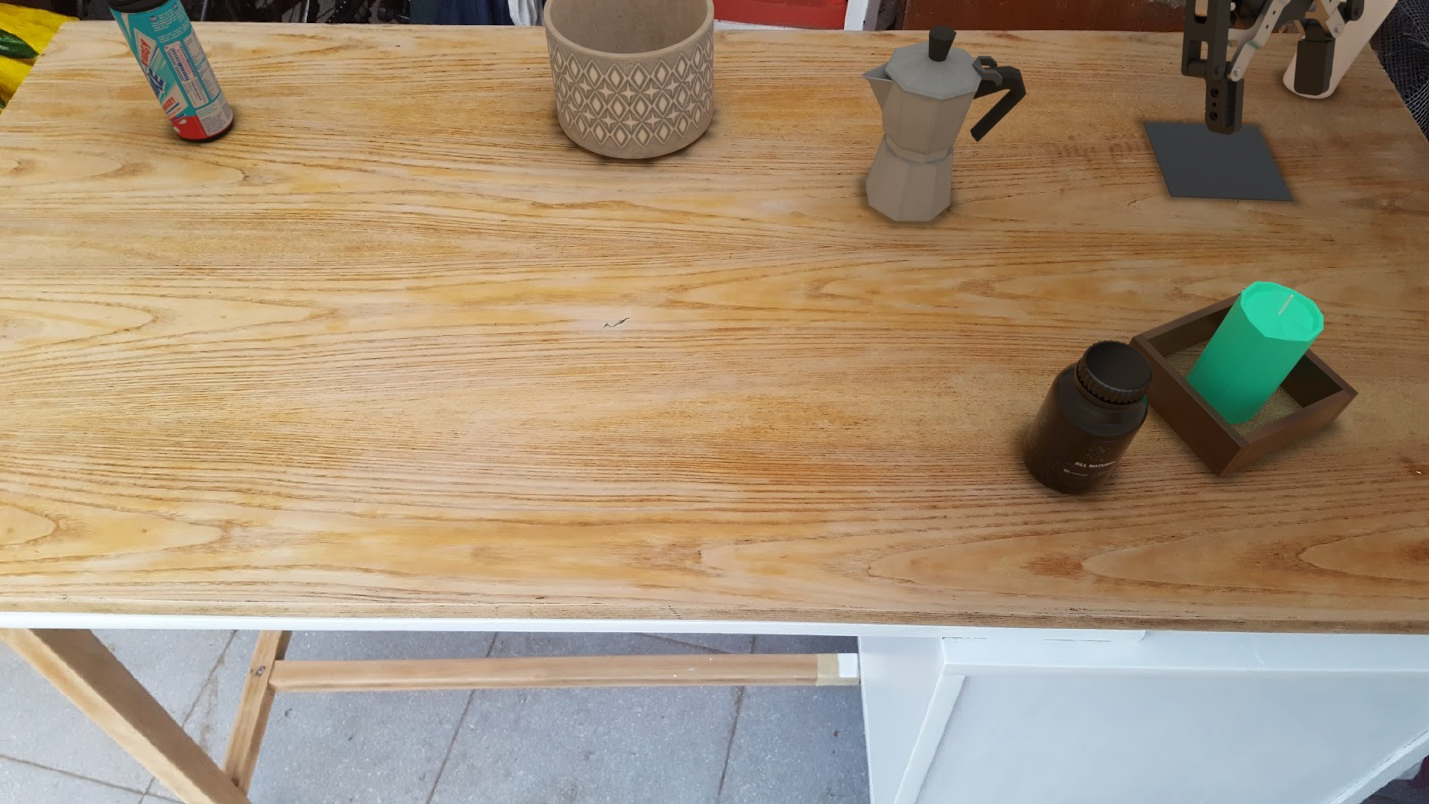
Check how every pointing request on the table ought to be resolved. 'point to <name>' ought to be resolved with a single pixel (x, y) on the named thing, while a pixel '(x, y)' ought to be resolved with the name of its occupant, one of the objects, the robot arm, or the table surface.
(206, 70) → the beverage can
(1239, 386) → the candle
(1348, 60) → the cream tall cylinder
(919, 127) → the coffee maker
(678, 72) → the planter
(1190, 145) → the mat
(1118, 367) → the supplement bottle
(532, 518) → the table surface
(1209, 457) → the brown wooden tray
